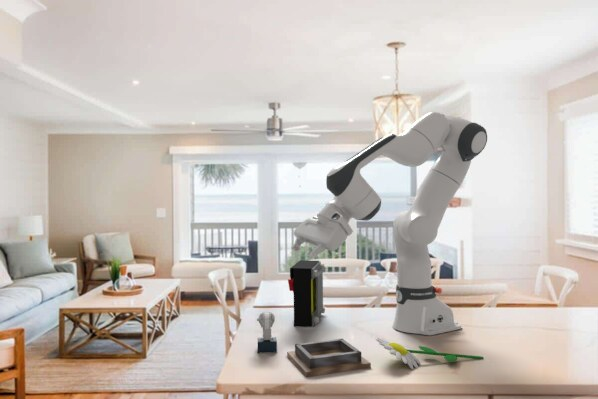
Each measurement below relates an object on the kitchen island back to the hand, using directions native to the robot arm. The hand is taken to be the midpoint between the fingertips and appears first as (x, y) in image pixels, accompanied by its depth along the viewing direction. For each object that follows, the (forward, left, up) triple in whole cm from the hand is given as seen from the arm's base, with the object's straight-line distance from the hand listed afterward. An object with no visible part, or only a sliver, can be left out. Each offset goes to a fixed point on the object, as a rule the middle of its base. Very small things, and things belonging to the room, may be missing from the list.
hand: (301, 253), depth 145 cm
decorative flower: (-28, +24, -28) cm, 47 cm away
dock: (-2, +15, -28) cm, 32 cm away
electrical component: (-11, -26, -28) cm, 40 cm away
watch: (+11, 0, -28) cm, 30 cm away
